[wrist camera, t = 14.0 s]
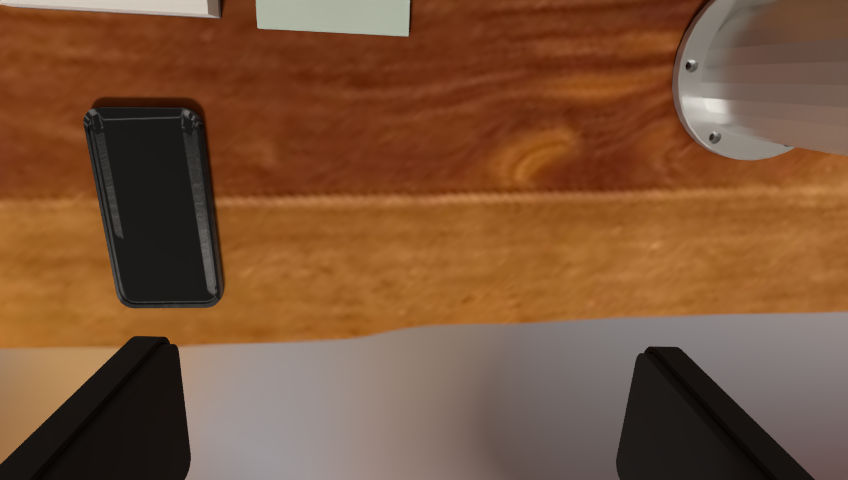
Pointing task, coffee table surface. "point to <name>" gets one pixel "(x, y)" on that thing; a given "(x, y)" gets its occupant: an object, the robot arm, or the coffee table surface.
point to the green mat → (336, 16)
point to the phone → (156, 205)
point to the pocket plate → (128, 6)
